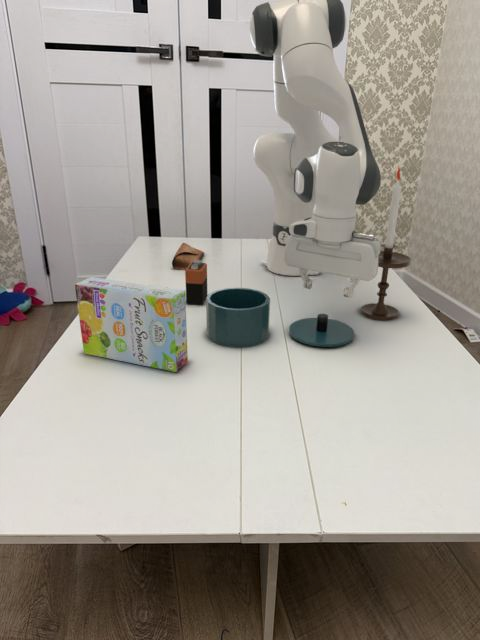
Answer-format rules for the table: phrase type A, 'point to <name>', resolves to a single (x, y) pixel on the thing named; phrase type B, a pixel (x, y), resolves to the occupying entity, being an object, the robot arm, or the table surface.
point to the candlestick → (388, 262)
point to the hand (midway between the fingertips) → (327, 292)
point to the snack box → (133, 322)
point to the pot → (237, 317)
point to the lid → (321, 331)
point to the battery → (196, 282)
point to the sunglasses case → (186, 256)
